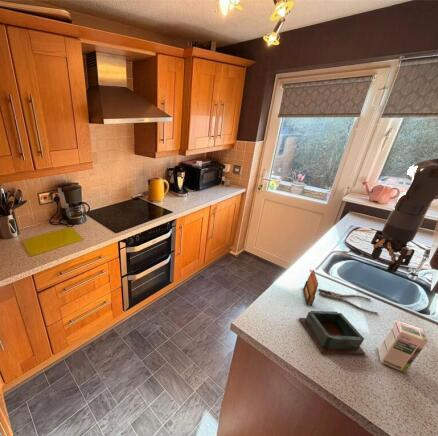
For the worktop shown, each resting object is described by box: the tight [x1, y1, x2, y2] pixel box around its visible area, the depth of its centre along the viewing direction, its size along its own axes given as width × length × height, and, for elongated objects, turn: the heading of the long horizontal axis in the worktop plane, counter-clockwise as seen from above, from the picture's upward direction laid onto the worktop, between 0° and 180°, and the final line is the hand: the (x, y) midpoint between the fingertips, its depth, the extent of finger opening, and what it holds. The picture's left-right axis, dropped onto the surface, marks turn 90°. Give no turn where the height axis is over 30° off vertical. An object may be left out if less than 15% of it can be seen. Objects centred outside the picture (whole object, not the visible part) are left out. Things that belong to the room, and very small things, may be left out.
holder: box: [298, 310, 366, 356], centre depth 83 cm, size 14×14×6 cm
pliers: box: [317, 288, 378, 315], centre depth 99 cm, size 10×1×20 cm
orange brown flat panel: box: [302, 269, 319, 307], centre depth 99 cm, size 11×2×12 cm, turn 155°
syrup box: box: [378, 319, 428, 373], centre depth 73 cm, size 6×6×14 cm
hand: (382, 264), depth 82 cm, fingers open, 8 cm apart
